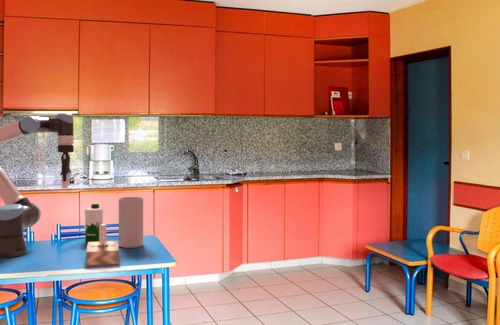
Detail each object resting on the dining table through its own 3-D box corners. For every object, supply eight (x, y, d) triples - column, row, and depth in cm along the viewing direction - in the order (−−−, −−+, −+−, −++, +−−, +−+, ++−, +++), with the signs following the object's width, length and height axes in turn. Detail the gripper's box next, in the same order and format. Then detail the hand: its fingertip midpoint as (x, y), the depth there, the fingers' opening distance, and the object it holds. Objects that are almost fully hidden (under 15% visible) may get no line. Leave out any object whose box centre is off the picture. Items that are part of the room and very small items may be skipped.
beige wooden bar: (99, 259, 233) (99, 225, 232) (99, 258, 236) (99, 224, 235) (106, 259, 234) (106, 225, 233) (106, 257, 237) (106, 224, 236)
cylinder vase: (141, 242, 272) (141, 196, 270) (144, 247, 260) (144, 199, 259) (117, 244, 267) (117, 197, 266) (120, 249, 256) (120, 200, 254)
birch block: (86, 265, 222) (86, 252, 222) (88, 254, 243) (88, 242, 243) (118, 263, 226) (118, 250, 226) (117, 252, 247) (117, 240, 247)
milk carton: (104, 239, 278) (104, 203, 277) (98, 243, 269) (98, 206, 268) (89, 239, 278) (88, 203, 278) (82, 242, 269) (82, 205, 269)
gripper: (71, 145, 240) (72, 189, 241) (75, 144, 264) (75, 184, 265) (55, 144, 238) (55, 189, 239) (59, 144, 262) (60, 184, 263)
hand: (65, 186), depth 252 cm, fingers open, 13 cm apart
